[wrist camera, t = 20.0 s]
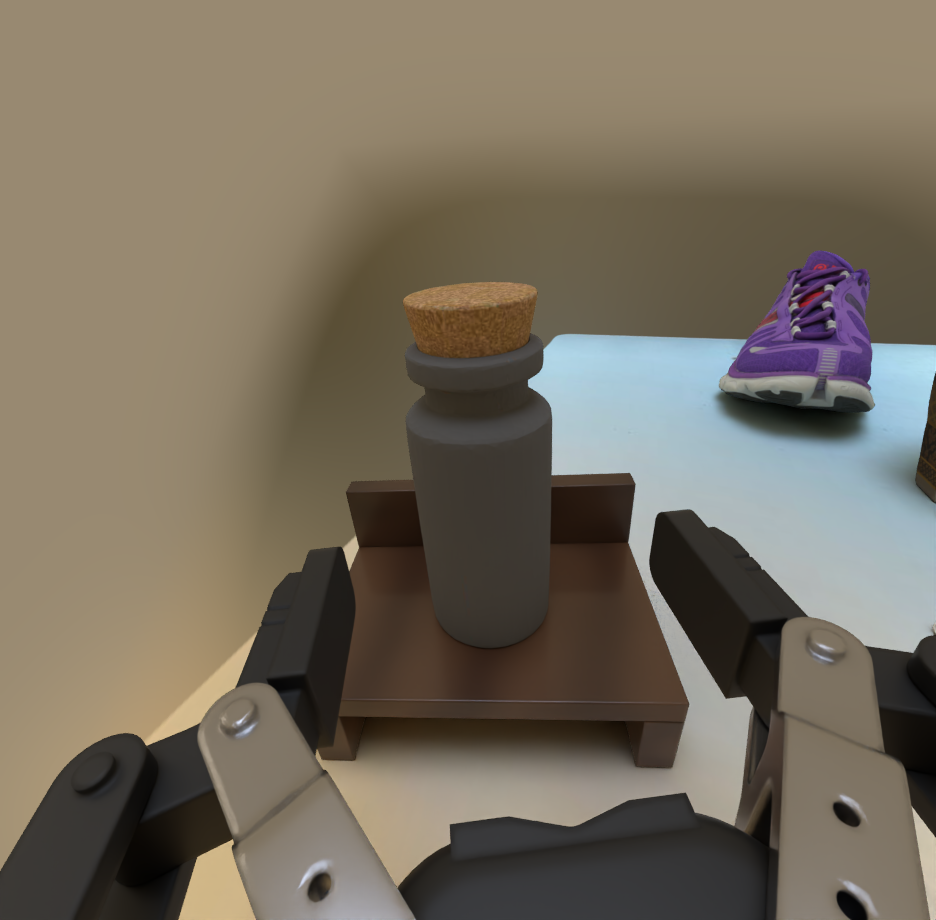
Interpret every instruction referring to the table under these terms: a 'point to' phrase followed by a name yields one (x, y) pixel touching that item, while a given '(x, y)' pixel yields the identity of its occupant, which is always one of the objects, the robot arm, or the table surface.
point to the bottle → (481, 459)
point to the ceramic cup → (928, 451)
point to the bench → (527, 662)
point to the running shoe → (810, 342)
